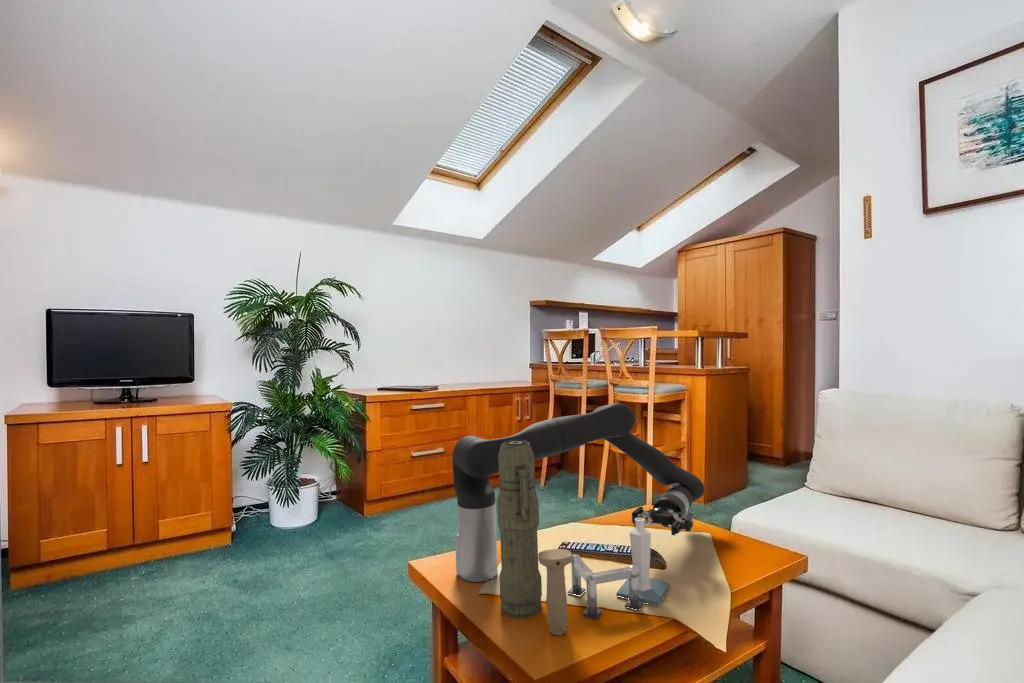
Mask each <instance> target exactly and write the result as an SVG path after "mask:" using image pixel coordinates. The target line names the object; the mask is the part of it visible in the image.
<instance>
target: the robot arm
mask: <svg viewBox="0 0 1024 683" xmlns="http://www.w3.org/2000/svg"><path fill="white" fill-rule="evenodd" d="M635 416H636V415H635V413H634V412H633V410H632V409H631V408H630V407H629V406H628V405H627V404H624V403H620V402H619V403H618V402H616V403H615V402H614V403H610V404H606V405H601V406H598V407H597V408H595V409H594V410H593V411H592V412H588V413H583V414H575V415H574V414H573V415H565V416H560V417H559V416H558V417H553V418H549V419H546V420H545V419H544V420H541V421H538V422H534V423H533V424H530V425H528V426H527V427H525V428H524V429H522V430H520V431H519V432H518V433H515V434H513V435H510V436H505V437H500V438H493V439H485V438H482V437H479V436H476V435H466V436H463V437H461V438H460V439H459V440H458V441H457V442H456V444H455V445H454V447H453V451H452V473H453V474H452V476H453V477H452V478H453V488H454V493H455V495H456V500H457V501H456V502H457V526H458V527H457V528H458V533H457V534H456V535H455V537H454V538H455V539H454V541H455V568H456V570H455V573H456V575H457V576H459V577H460V578H461V579H462V580H464V581H466V582H471V583H480V582H481V583H482V582H487V581H490V580H491V579H490V578H492V577H494V576H495V575H496V576H497V575H498V573H499V571H498V570H499V569H498V546H497V544H498V543H497V542H498V541H497V537H498V536H497V518H496V517H497V516H496V514H497V512H496V511H497V510H496V509H497V508H496V493H495V490H494V488H493V487H492V484H491V482H490V479H489V478H490V477H491V476H493V475H495V474H497V473H498V474H499V460H498V456H499V452H500V448H501V445H502V444H503V443H505V442H506V441H509V440H525V441H526V442H529V443H530V446H531V448H532V451H533V454H534V461H536V460H541V459H544V458H549V457H552V456H553V457H554V456H556V455H560V454H562V453H565V452H568V451H571V450H574V449H577V448H580V447H582V446H585V445H587V444H589V443H593V442H594V441H598V440H605V441H606V442H608V443H610V444H611V445H613V446H614V447H615V448H617V449H618V450H620V451H621V452H623V453H624V454H625V455H627V456H628V457H629V458H631V459H632V460H633V461H634V462H636V464H638V465H639V466H640V467H642V469H644V471H646V472H647V473H648V474H649V475H650V476H652V478H653V479H654V480H655V481H656V482H657V483H659V484H660V485H662V486H668V487H667V488H666V492H665V493H663V494H662V495H661V496H660V497H659V498H658V499H657V500H656V501H655V503H654V505H653V506H652V508H651V509H648V510H645V509H644V506H639V507H637V508H636V509H635V510H633V511H632V512H631V523H632V524H633V528H635V527H636V524H635V519H636V518H643V519H644V526H645V525H647V526H654V525H658V526H660V525H661V526H662V527H664V528H668V529H671V530H670V532H671V533H670V534H671V536H676V534H677V535H678V534H679V533H680V532H682V531H683V530H685V531H686V532H691V531H692V529H693V526H694V513H691V512H690V513H688V511H689V509H690V508H691V507H692V503H694V502H696V501H697V500H699V499H700V498H702V497H703V496H704V495H705V492H706V488H705V485H704V483H703V481H702V480H701V479H700V478H699V477H697V476H696V475H695V474H693V473H692V472H689V471H687V470H685V469H684V468H682V467H680V466H678V465H676V464H675V462H673V461H672V460H671V459H670V458H669V457H667V455H666V454H665V453H663V451H661V450H659V449H658V448H656V447H655V446H653V445H651V444H649V443H647V442H646V441H644V440H642V439H641V438H639V437H638V436H636V435H635V434H633V433H632V432H631V431H632V429H633V428H634V426H635V422H636V417H635ZM497 572H498V573H497ZM496 576H495V577H496ZM495 577H494V578H495ZM489 579H490V580H489ZM492 579H493V578H492Z"/></svg>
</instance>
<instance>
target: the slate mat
mask: <svg viewBox="0 0 1024 683" xmlns="http://www.w3.org/2000/svg"><path fill="white" fill-rule="evenodd" d="M649 583H650V586H651V589H649V590H646V591H640V590H638V592H639V601H642V602H643V603H648V604H652V605H656V606H658V607H659V606H660V605H661V603H662V601H663V600H662V599H664V598H665V596H666V595H667V593H668V591H669V589H670V588H671V582H670V581H665V580H662V579H661V580H660V579H655V578H652V577H651V578H650V577H649ZM665 594H666V595H665ZM617 596H621V597H624V598H629V585H628V579H625V581H624V583H622V585H621V586H620V588H618V590H617V591H616V597H617ZM663 597H664V598H663ZM660 602H661V603H660ZM648 604H647V605H648ZM659 604H660V605H659ZM652 605H651V606H652ZM656 606H655V607H656Z"/></svg>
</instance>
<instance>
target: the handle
mask: <svg viewBox="0 0 1024 683" xmlns="http://www.w3.org/2000/svg"><path fill="white" fill-rule="evenodd" d="M572 555H573V553H572V552H571V551H570V550H569V549H563V548H562V549H561V548H552V549H546V550H542V551H538V563H539V564H540V565H542V566H543V567H546V601H545V602H546V604H545V605H546V615H547V621H548V628H549V632H550V634H551V635H555V636H557V637H560V636H562V635H564V634H566V632H567V621H568V620H567V619H568V598H567V590H566V587H567V586H566V577H565V566H567V565H569V564H571V563H570V562H571V561H572Z"/></svg>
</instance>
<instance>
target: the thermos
mask: <svg viewBox="0 0 1024 683" xmlns="http://www.w3.org/2000/svg"><path fill="white" fill-rule="evenodd" d="M498 460H499V472H498V480H499V490H498V495H497V498H496V509H497V510H496V511H497V512H496V514H497V527H498V528H499V533H500V535H499V536H500V559H501V560H500V564H501V566H500V567H501V570H500V573H499V575H498V578H499V581H498V582H499V598H500V610H501V612H502V613H503V614H504V615H505V616H507V617H510V618H517V619H523V618H524V619H526V618H531V617H533V616H535V615H537V614H539V612H541V610H542V606H543V605H542V597H543V587H542V585H543V584H542V583H543V582H542V574H541V572H540V569H539V559H538V554H539V549H538V548H539V546H538V545H539V544H538V543H539V542H538V526H539V525H540V511H539V508H540V505H539V504H540V503H539V497H538V495H537V492H536V484H535V478H536V476H535V471H536V470H535V460H534V454H533V451H532V448H531V446H530V443H529V442H526V441H525V440H509V441H506V442H505V443H503V444H502V445H501V448H500V452H499V456H498Z"/></svg>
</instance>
